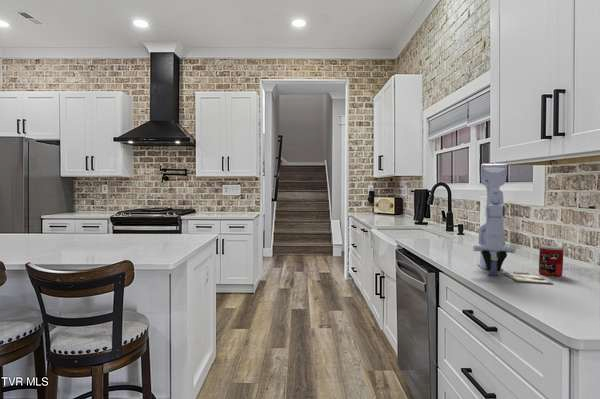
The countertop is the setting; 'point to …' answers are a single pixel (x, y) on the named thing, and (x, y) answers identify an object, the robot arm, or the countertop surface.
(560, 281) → the countertop surface
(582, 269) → the countertop surface
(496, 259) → the blue-grey cylinder
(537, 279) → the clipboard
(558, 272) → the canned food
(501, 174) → the robot arm
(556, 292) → the countertop surface
